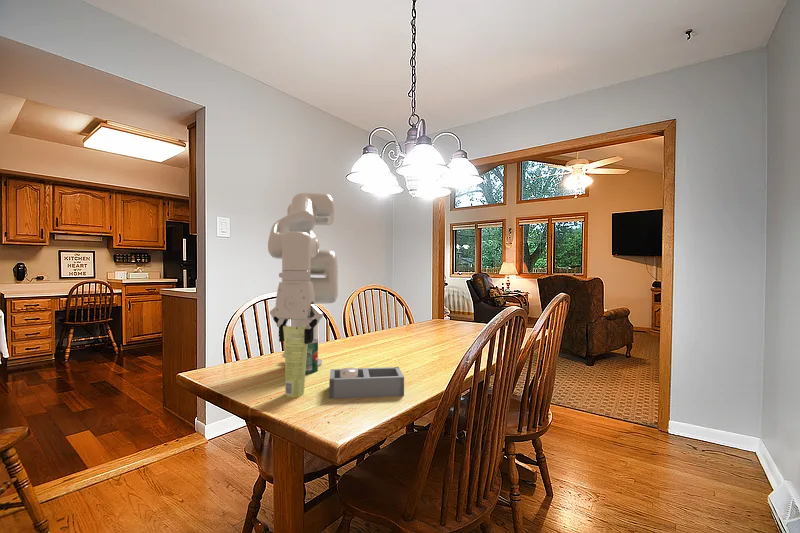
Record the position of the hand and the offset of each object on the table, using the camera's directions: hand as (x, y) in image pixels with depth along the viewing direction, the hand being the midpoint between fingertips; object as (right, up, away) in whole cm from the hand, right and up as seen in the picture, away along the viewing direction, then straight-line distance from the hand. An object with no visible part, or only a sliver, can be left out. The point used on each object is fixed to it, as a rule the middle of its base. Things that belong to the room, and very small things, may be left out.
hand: (295, 341), depth 105 cm
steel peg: (+14, -14, +2) cm, 20 cm away
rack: (+19, -16, +3) cm, 25 cm away
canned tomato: (-3, -16, +23) cm, 28 cm away
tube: (0, -16, 0) cm, 16 cm away
